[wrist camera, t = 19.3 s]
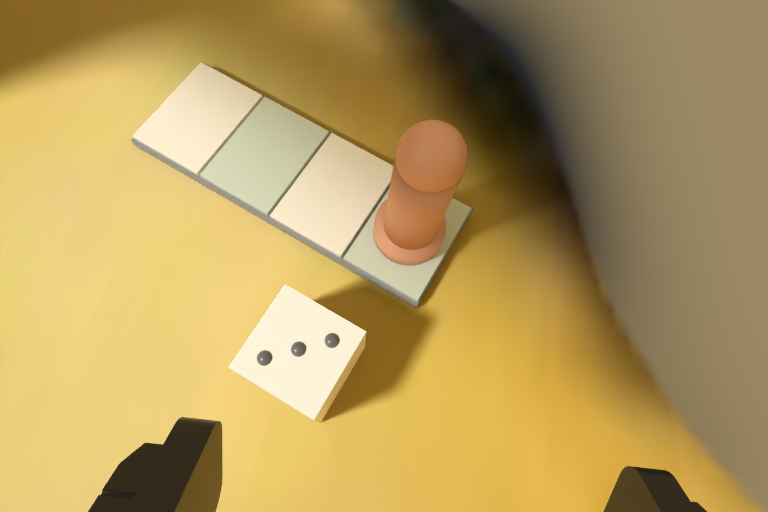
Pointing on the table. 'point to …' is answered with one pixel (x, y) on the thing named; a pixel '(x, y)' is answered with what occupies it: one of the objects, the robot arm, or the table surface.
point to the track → (287, 174)
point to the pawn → (420, 192)
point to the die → (300, 353)
